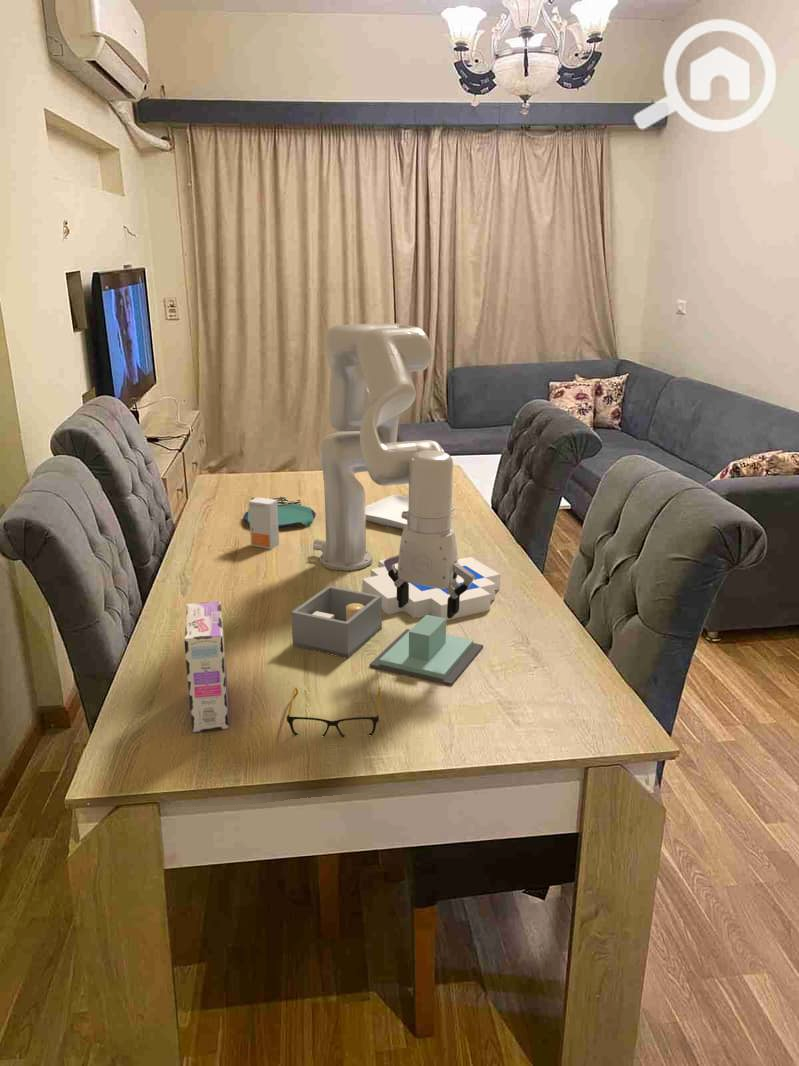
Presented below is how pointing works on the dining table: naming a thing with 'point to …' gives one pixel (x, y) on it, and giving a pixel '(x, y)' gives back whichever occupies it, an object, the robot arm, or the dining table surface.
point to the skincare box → (264, 522)
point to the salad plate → (389, 511)
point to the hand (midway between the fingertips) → (427, 610)
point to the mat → (448, 680)
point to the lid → (427, 649)
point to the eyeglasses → (331, 723)
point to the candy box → (206, 666)
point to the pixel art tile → (435, 592)
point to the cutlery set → (290, 514)
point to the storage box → (337, 621)
